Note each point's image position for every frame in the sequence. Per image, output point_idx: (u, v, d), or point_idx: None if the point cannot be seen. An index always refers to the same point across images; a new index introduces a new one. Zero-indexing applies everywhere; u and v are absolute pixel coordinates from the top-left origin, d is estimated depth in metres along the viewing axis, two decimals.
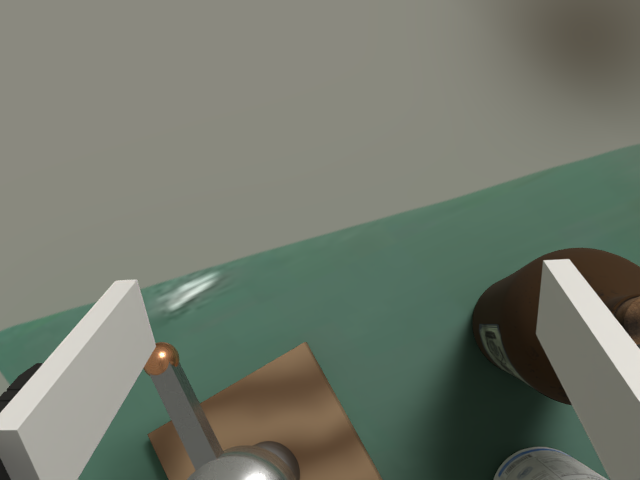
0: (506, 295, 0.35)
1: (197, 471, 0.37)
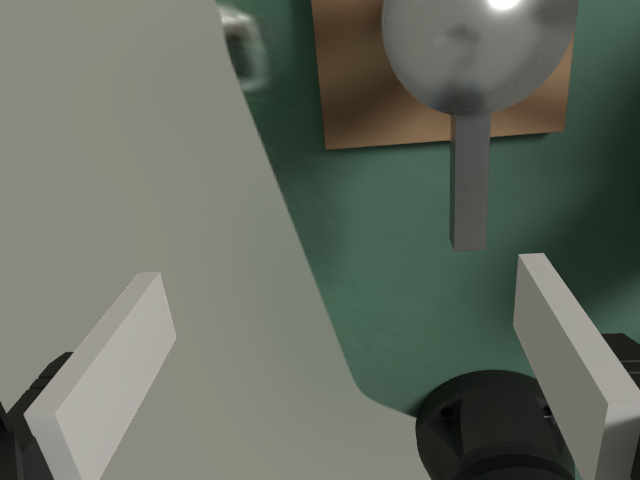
0: None
1: None
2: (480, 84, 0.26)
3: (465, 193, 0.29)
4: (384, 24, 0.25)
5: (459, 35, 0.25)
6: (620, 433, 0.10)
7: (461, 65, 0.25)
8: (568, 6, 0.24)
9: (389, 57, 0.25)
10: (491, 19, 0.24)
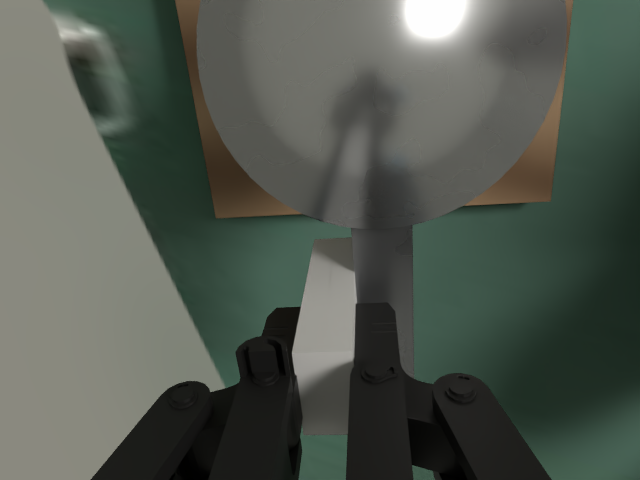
0: None
1: None
2: (387, 177, 0.14)
3: None
4: (200, 66, 0.13)
5: (341, 88, 0.13)
6: (337, 377, 0.13)
7: (350, 142, 0.14)
8: (547, 39, 0.12)
9: (217, 125, 0.14)
10: (400, 60, 0.13)
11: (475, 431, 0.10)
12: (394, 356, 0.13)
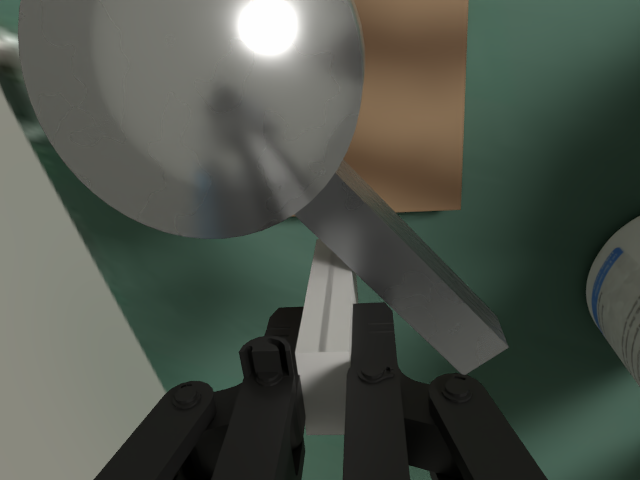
0: None
1: None
2: (276, 157, 0.14)
3: (405, 297, 0.16)
4: (87, 184, 0.15)
5: (183, 120, 0.14)
6: (334, 377, 0.13)
7: (226, 153, 0.14)
8: None
9: (132, 217, 0.15)
10: (202, 64, 0.13)
11: (471, 431, 0.10)
12: (391, 356, 0.13)
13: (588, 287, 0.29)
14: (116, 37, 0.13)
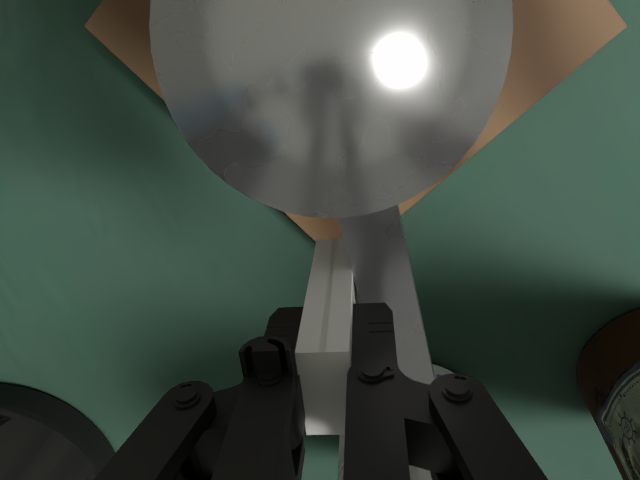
0: None
1: None
2: (360, 162, 0.14)
3: None
4: (161, 85, 0.13)
5: (298, 82, 0.13)
6: (335, 377, 0.13)
7: (317, 134, 0.14)
8: None
9: (188, 139, 0.14)
10: (349, 45, 0.13)
11: (472, 431, 0.10)
12: (391, 356, 0.13)
13: None
14: None
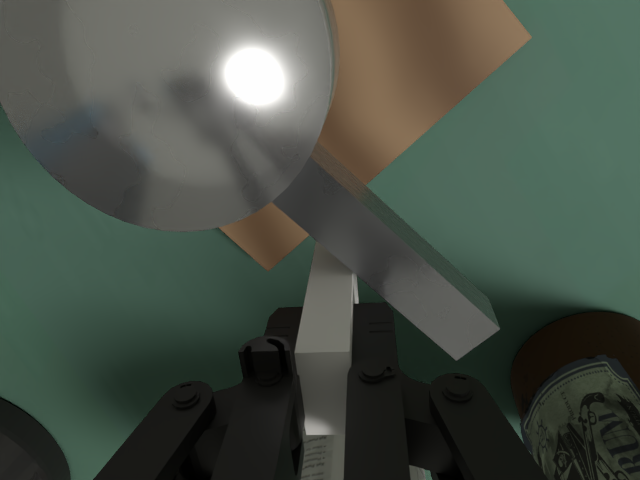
0: None
1: None
2: (248, 144, 0.14)
3: (391, 282, 0.16)
4: (62, 182, 0.15)
5: (152, 111, 0.14)
6: (335, 377, 0.13)
7: (198, 143, 0.14)
8: None
9: (109, 213, 0.15)
10: (167, 52, 0.13)
11: (472, 431, 0.10)
12: (392, 356, 0.13)
13: None
14: (79, 30, 0.13)
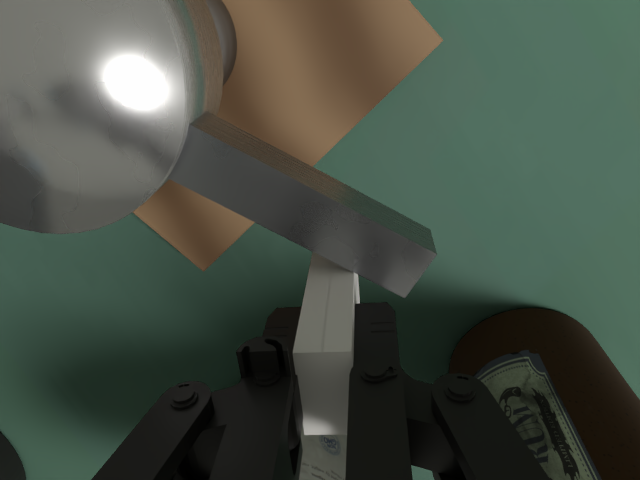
0: None
1: None
2: (123, 126, 0.14)
3: (312, 232, 0.15)
4: None
5: (28, 118, 0.14)
6: (337, 377, 0.13)
7: (78, 138, 0.14)
8: None
9: (25, 228, 0.15)
10: (21, 57, 0.13)
11: (474, 431, 0.10)
12: (393, 356, 0.13)
13: None
14: None
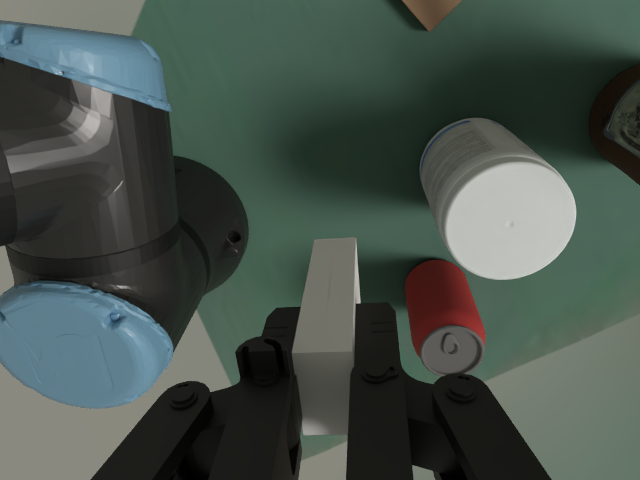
0: None
1: None
2: None
3: None
4: None
5: None
6: (338, 377, 0.13)
7: None
8: None
9: None
10: None
11: (475, 431, 0.10)
12: (394, 356, 0.13)
13: (437, 133, 0.47)
14: None
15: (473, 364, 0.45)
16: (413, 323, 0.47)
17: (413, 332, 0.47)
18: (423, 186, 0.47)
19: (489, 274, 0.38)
